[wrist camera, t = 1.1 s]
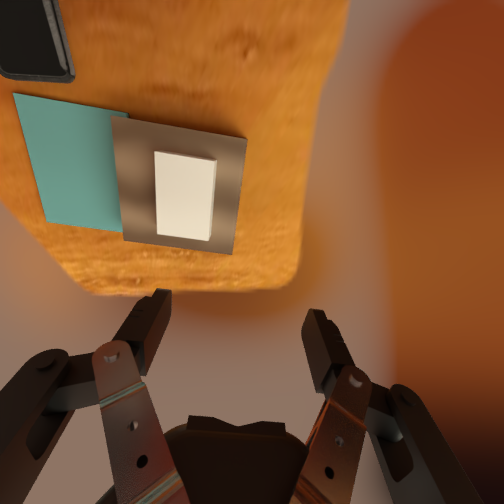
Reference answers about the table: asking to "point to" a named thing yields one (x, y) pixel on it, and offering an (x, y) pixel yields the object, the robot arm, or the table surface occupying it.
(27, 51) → the phone
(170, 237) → the block
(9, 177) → the table surface
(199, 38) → the table surface
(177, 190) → the white rectangular block
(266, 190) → the table surface
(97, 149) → the mat
